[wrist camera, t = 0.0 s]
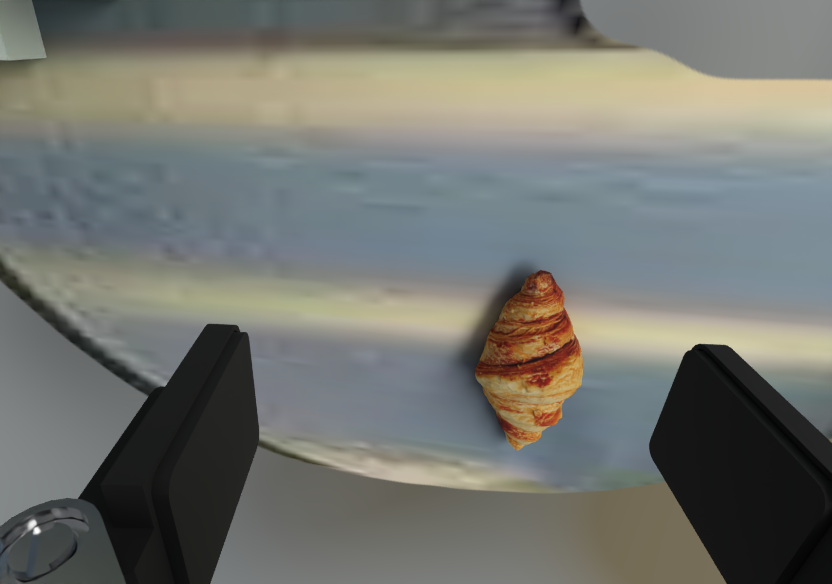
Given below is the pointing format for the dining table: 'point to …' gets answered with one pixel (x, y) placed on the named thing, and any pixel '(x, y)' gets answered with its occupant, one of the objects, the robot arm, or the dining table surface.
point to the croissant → (531, 361)
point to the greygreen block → (19, 31)
